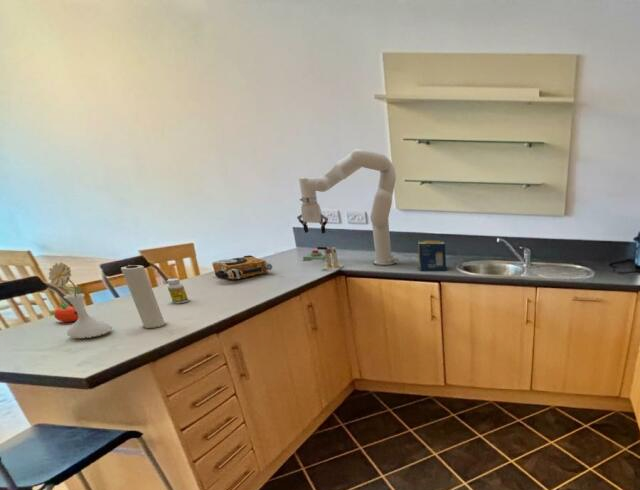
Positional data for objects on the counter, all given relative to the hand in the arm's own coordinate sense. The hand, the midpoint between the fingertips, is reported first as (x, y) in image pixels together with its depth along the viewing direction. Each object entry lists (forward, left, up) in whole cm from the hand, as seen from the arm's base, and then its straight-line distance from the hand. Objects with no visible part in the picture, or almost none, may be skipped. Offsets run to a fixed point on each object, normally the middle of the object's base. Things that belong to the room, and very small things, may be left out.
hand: (315, 232), depth 241 cm
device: (+26, +36, -18) cm, 48 cm away
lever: (-12, +15, -8) cm, 21 cm away
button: (+8, -13, -14) cm, 21 cm away
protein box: (-68, +1, -18) cm, 70 cm away
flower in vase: (+26, +122, -18) cm, 126 cm away
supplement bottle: (+25, +82, -18) cm, 87 cm away
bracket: (-12, +11, -18) cm, 24 cm away
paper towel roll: (+14, +110, -18) cm, 112 cm away
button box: (+8, -13, -18) cm, 24 cm away
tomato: (+46, +109, -18) cm, 119 cm away
